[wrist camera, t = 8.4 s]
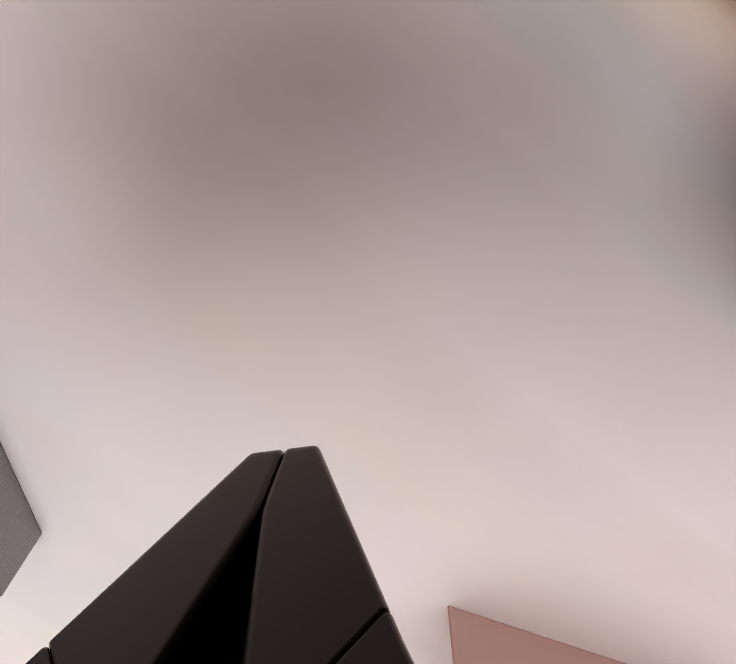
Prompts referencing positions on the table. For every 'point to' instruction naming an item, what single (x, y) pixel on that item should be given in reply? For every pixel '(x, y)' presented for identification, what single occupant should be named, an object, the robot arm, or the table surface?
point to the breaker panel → (13, 525)
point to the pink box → (508, 644)
